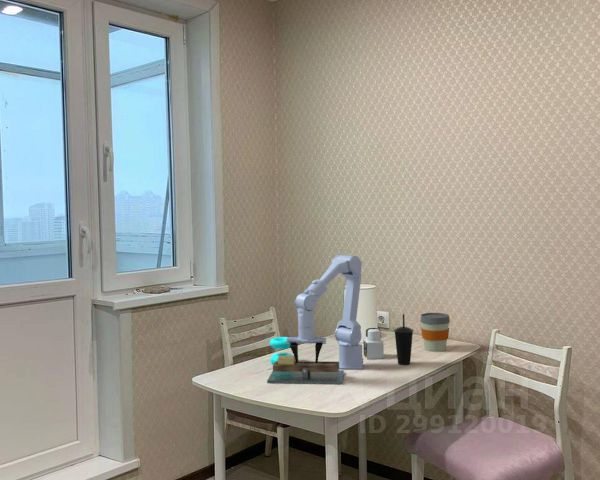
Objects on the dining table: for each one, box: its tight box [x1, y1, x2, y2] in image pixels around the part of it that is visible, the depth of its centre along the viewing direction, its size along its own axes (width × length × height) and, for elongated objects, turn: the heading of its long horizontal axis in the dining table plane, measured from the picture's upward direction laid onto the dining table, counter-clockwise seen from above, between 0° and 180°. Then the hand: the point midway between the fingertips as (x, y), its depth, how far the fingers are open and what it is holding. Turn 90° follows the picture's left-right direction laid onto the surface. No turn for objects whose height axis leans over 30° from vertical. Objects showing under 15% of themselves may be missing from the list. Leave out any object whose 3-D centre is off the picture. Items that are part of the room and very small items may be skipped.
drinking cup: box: [393, 313, 414, 366], centre depth 226 cm, size 8×8×20 cm
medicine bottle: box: [362, 327, 385, 360], centre depth 238 cm, size 7×7×12 cm
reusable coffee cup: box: [420, 312, 451, 353], centre depth 248 cm, size 13×13×15 cm
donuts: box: [269, 336, 294, 365], centre depth 231 cm, size 10×10×10 cm
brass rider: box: [278, 355, 295, 366], centre depth 211 cm, size 6×4×3 cm
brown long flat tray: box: [272, 360, 340, 372], centre depth 210 cm, size 24×6×2 cm, turn 83°
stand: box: [266, 367, 345, 385], centre depth 210 cm, size 27×14×5 cm, turn 83°
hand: (306, 362), depth 210 cm, fingers open, 7 cm apart
